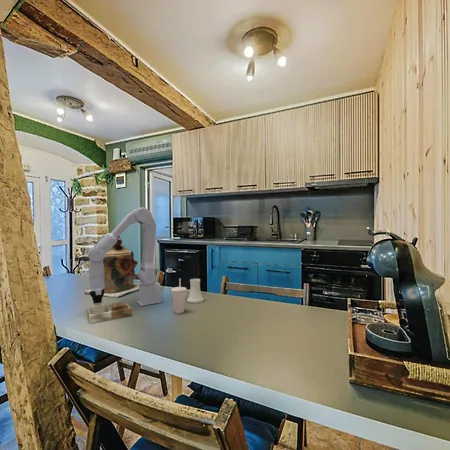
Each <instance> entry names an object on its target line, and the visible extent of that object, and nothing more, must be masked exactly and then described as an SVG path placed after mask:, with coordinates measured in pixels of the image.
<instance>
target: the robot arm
mask: <svg viewBox="0 0 450 450" xmlns="http://www.w3.org/2000/svg"><path fill="white" fill-rule="evenodd" d="M152 214H153V213H152V212H151V211H150V210H149V209H148V208H146V207H143V206H141V207H136V208H133V209H132V210H131V212H129V213H128V214H127V215H125V217H124V218H122V220H121V221H120V222H119V223H118V224H117V225H116V227H114V229H113V230H112V231H111V232H108V233H105V234H102V235H101V237H100V238H101V239H99V240H98V241H97V243H96V244H92V245H93V247H92V248H90V249H89V250H88V252H87V258H88V259H89V261H88V286H87V287H86V288H85V290H88V289H90V290H92V291H90V294H89V295H90V296H91V298H92V302H93V303H100V302H103V297H104V296H103V295H104V293H105V291H104V288H105V285H104V265H103V259H104V257H105V253H107V252H108V251H109V250H110V249H111V248H112V247H113V246H114V245H115V244H116V242H117V237H118V236H119V237H120V235H121V234H122V233H123V232H124V231H125V230H126V229H127V228H128V227H129V226H130V225H133V224H136V223H138V224H140V225H141V226H142V228H143V229H144V235H143V245H142V246H143V247H142V258H141V264H140V268H139V269H138V271H137V278H138V280H139V282H138V283H139V289H138V300H136V302H137V303H138V304H139V306H142V307H143V306H148V305H153V304H160V303H162V293H161V291H162V288H161V283H160V282H158V281H156V280H157V273H156V267H155V265H154V261H155V260H154V259H155V249H156V248H155V245H156V235H157V234H156V233H157V223H156V221H155V220H154V218H153V215H152ZM93 303H92V304H93Z"/></svg>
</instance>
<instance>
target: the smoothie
mask: <svg viewBox="0 0 450 450" xmlns="http://www.w3.org/2000/svg"><path fill="white" fill-rule="evenodd" d="M181 279H182V278H179V279H178V281H179V283H178V284H179V285H178V286H175V287H172V288H171V290H170V292H171V296H172V304H173V309H174V313H175V314H183V313H184V312H185V302H186V292H187V291H188V290H187V287H186V286H185V287H183V286H181V284H182V283H181V282H182V281H181Z"/></svg>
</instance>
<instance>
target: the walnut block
mask: <svg viewBox="0 0 450 450" xmlns="http://www.w3.org/2000/svg"><path fill="white" fill-rule="evenodd" d="M121 309H126V308H125V303H124V301H122V302H118V303H115V302H114V303H112V304H111V311H115V310H121Z"/></svg>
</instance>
